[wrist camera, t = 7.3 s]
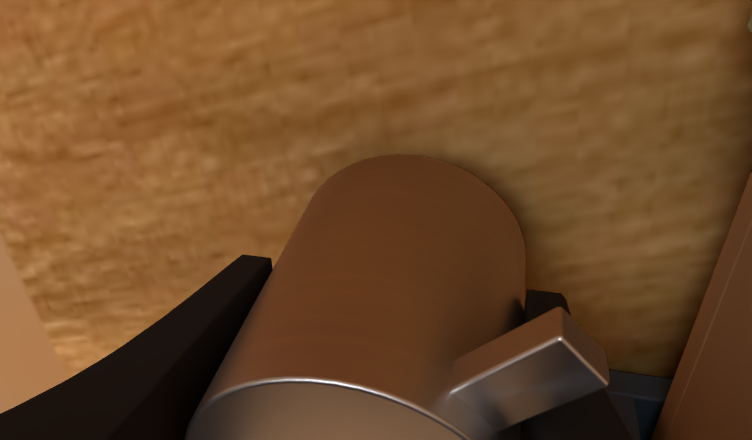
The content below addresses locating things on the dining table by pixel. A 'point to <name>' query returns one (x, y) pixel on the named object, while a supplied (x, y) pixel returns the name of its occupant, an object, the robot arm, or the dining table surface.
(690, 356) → the drawer
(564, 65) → the dining table surface
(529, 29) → the dining table surface
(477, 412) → the measuring cup
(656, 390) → the cabinet
